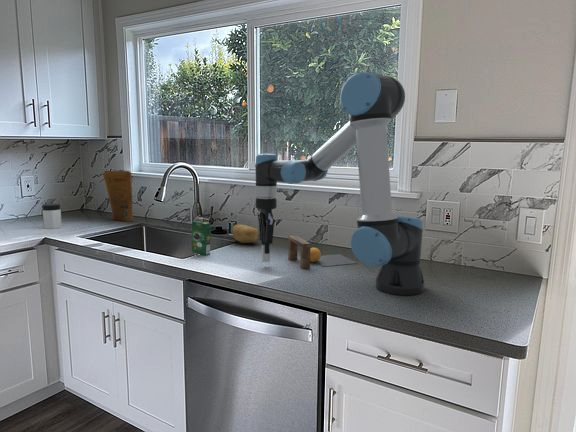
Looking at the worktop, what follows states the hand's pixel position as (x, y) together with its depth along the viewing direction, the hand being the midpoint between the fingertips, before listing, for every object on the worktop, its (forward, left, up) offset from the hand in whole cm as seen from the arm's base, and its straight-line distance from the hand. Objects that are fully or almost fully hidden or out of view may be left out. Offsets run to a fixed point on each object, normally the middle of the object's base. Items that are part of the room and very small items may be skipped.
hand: (265, 261), depth 163 cm
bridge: (0, -13, -2) cm, 13 cm away
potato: (+39, -3, -2) cm, 39 cm away
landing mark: (0, -27, -2) cm, 27 cm away
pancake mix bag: (+114, +49, -2) cm, 124 cm away
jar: (+102, +82, -2) cm, 131 cm away
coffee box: (+26, +19, -2) cm, 32 cm away
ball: (0, -19, +1) cm, 19 cm away
